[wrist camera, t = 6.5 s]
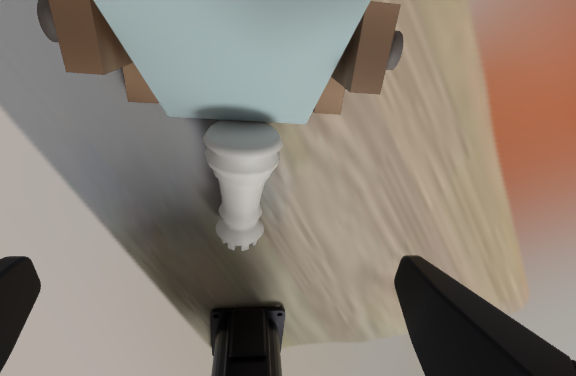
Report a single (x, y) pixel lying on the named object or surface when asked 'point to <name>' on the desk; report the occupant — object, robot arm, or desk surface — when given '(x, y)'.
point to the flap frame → (111, 56)
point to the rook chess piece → (241, 175)
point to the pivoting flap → (235, 53)
